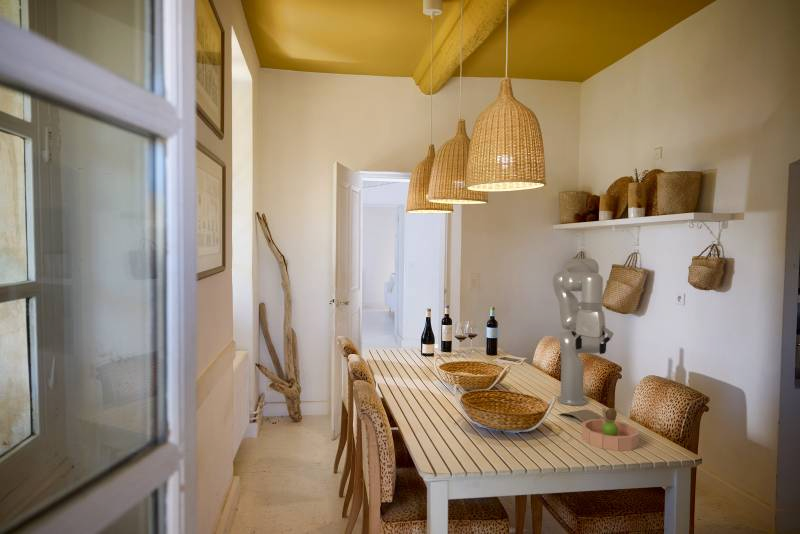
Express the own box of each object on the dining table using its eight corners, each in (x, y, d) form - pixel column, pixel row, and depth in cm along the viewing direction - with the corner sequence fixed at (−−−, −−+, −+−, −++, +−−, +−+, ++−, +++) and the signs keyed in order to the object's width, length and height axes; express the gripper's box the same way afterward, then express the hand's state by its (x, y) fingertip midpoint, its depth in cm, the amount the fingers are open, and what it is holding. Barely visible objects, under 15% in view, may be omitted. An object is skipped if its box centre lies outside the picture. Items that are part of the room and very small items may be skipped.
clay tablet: (608, 423, 197) (608, 416, 197) (588, 428, 191) (588, 420, 191) (575, 412, 211) (575, 405, 211) (556, 416, 205) (556, 409, 205)
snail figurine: (596, 435, 179) (596, 402, 179) (610, 433, 181) (610, 400, 181) (607, 441, 174) (607, 407, 174) (621, 438, 176) (622, 405, 176)
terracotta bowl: (598, 427, 190) (598, 415, 190) (647, 442, 176) (647, 429, 176) (571, 438, 179) (572, 426, 179) (622, 455, 164) (622, 441, 164)
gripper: (565, 305, 195) (564, 348, 196) (608, 310, 182) (606, 356, 183) (576, 303, 200) (575, 345, 201) (618, 308, 186) (616, 353, 187)
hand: (590, 351), depth 192 cm, fingers open, 9 cm apart
